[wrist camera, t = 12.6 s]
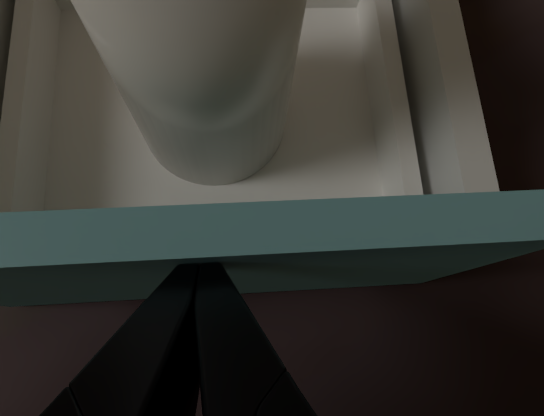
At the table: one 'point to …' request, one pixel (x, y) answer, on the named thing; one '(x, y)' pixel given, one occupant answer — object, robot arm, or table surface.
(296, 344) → the table surface
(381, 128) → the white and teal drawer
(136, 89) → the salt jar
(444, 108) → the dock housing
